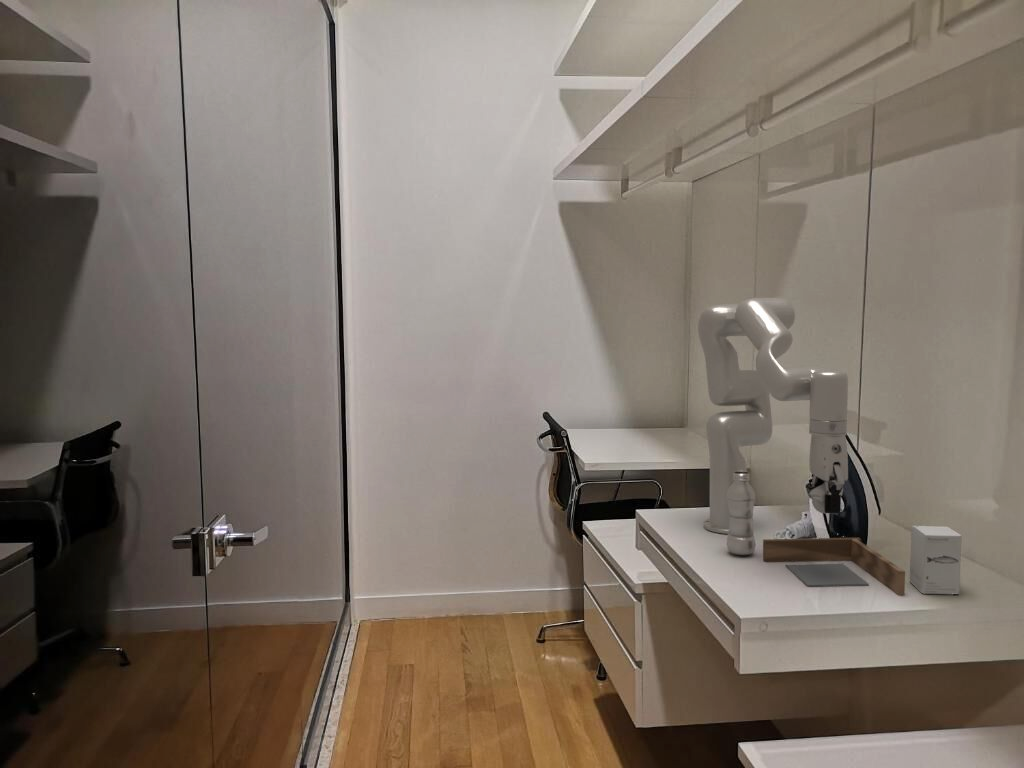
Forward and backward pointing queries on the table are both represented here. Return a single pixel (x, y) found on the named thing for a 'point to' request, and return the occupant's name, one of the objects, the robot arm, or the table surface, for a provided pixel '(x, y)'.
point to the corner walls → (836, 556)
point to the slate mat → (826, 575)
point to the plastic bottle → (741, 515)
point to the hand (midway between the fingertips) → (825, 507)
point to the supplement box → (935, 559)
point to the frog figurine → (820, 497)
